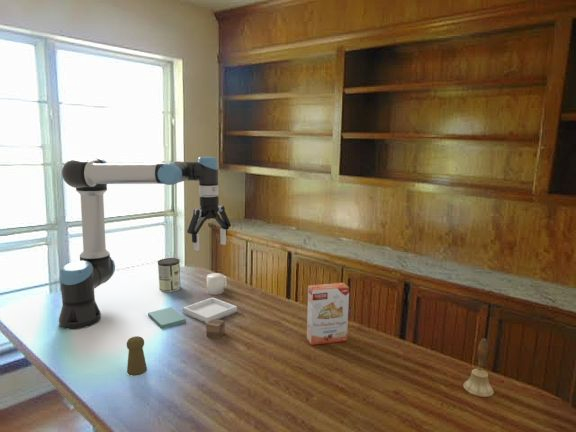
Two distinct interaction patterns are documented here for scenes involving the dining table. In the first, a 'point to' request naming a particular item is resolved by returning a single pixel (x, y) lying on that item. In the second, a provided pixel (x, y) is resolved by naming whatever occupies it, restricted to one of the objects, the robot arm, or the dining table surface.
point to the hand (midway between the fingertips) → (210, 247)
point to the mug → (216, 283)
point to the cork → (136, 356)
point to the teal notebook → (166, 317)
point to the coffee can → (169, 274)
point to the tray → (209, 310)
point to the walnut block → (215, 328)
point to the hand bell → (479, 375)
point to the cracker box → (327, 313)
